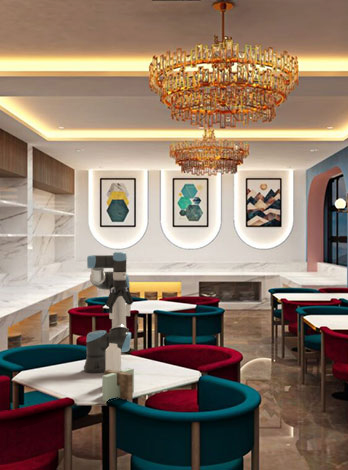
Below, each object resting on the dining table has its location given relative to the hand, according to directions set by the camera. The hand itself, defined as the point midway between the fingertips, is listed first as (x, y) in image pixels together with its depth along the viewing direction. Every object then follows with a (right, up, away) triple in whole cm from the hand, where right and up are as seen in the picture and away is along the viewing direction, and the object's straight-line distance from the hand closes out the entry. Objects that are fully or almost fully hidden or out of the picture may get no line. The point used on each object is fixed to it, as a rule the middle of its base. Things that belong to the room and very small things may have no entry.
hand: (119, 317), depth 305 cm
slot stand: (+3, -34, -34) cm, 49 cm away
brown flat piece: (+3, -34, -34) cm, 48 cm away
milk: (-3, -35, -11) cm, 36 cm away
